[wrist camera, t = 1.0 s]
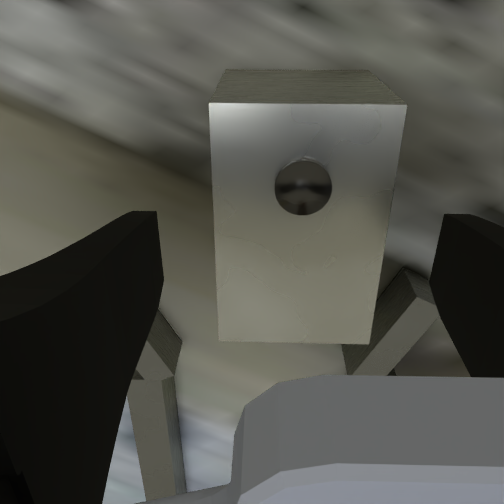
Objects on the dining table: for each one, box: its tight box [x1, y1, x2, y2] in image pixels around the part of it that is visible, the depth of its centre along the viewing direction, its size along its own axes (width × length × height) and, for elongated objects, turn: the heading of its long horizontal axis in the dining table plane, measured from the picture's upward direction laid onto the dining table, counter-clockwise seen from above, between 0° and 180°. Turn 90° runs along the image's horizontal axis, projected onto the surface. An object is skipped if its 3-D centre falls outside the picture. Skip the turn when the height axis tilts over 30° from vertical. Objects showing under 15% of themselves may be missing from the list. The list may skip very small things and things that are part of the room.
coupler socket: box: [127, 268, 440, 501], centre depth 21 cm, size 13×17×4 cm
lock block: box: [209, 69, 407, 344], centre depth 15 cm, size 4×7×5 cm, turn 0°
